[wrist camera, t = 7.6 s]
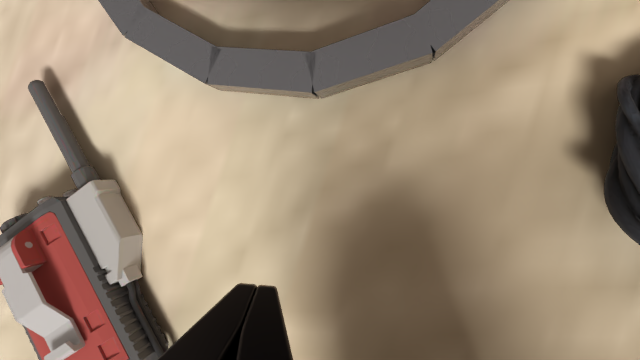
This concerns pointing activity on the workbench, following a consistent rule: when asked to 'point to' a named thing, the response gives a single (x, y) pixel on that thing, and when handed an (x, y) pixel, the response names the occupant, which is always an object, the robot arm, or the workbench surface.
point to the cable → (626, 160)
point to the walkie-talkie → (78, 265)
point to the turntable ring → (299, 66)
